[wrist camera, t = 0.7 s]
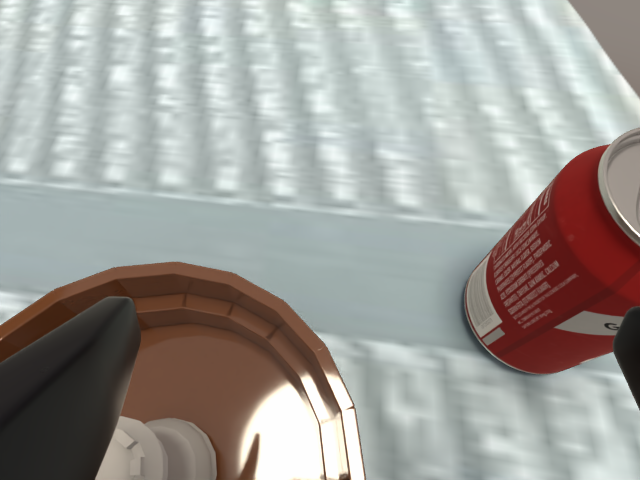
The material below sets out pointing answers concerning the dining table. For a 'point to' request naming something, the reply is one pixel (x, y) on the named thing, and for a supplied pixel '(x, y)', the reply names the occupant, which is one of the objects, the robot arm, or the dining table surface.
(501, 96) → the dining table surface
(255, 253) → the dining table surface
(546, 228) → the soda can
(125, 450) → the rook chess piece
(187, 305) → the bowl
